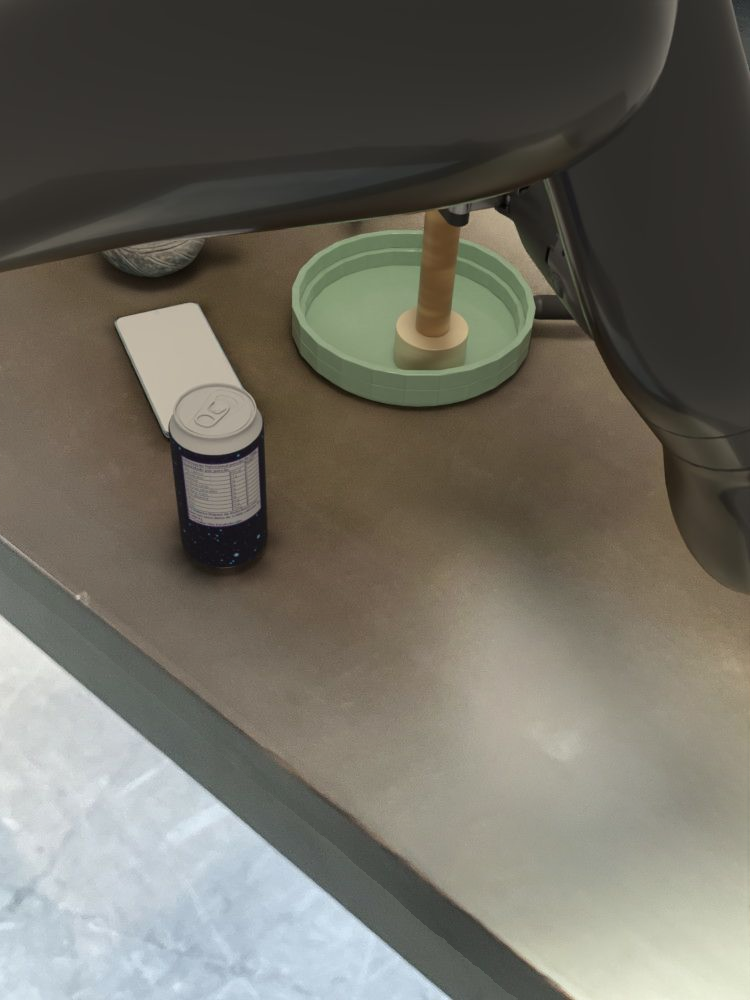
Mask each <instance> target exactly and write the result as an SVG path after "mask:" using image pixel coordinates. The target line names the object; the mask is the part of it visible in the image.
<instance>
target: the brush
mask: <svg viewBox="0 0 750 1000" xmlns="http://www.w3.org/2000/svg"><path fill="white" fill-rule="evenodd" d="M461 228H462V227H455V226H451V225H449V224H448V223H447V222H446V220H445V219H444V218H443V216H442V215H441V214H440V213H439V211H438V210H434V211H428V212H424V220H423V243H422V255H421V266H420V278H419V290H418V301H417V307H414V308H411V309H409V310H407V311H405V312H404V313H403V314H401V315H400V317H399V318H398V320H397V322H396V331H395V345H394V360H395V362H396V364H397V366H398V367H399V368H400V369H402V370H443V369H449V368H455V367H460V366H463V365H464V363H465V356H466V348H467V340H468V333H469V329H468V325H467V323H466V321H465V320H464V318H463V317H462V316H460V315H459V314H458V313H456V312H454V311H452V310H451V308H452V299H453V290H454V281H455V273H456V264H457V255H458V246H459V238H461Z"/></svg>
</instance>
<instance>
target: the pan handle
mask: <svg viewBox="0 0 750 1000" xmlns="http://www.w3.org/2000/svg"><path fill="white" fill-rule="evenodd" d="M533 298H534V302H535V306H536V310H535V316H534V320H538V321H540V320H541V321H575V320H574V319H573V317H572V316H571V315H570V313H569V312H568V310H567V309H566V307H565V306H564V305H563V303H562V302H561V300H560V299H559V297H558V296H557V295H556V294H542V293H541V294H535V295H533Z"/></svg>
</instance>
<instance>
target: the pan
mask: <svg viewBox="0 0 750 1000" xmlns="http://www.w3.org/2000/svg"><path fill="white" fill-rule="evenodd" d="M423 231H424V229H421V230H419V229H385V230H380V231H373V232H365V233H360V234H357V235H354V236H351V237H347V238H345V239H342V240H339V241H336V242H334V243H332V244H330V245H329V246H327V247H325V248H324V249H322V250H320V251H318V252H317V253H315V254H314V255H313V256H312V257H311V258H310V259H309V260H308V261H306V263H305V264H304V265H303V266H302V267H301V268H300V269H299V271H298V274H297V276H296V278H295V279H294V281H293V284H292V287H291V336H292V338H293V340H294V342H295V346H296V348H297V350H298V352H299V355H301V357H302V358H303V359H304V360H305V361H306V362H307V363H308V364H309V365H310V366H311V367H312V369H313V370H314V371H315V372H316V373H317V374H319V375H320V376H322V377H323V378H325V379H326V380H328V382H330V383H332V384H333V385H335V386H336V387H339V388H340V389H342V390H344V391H345V392H349V393H350V394H353V395H355V396H357V397H360V398H364V399H367V400H369V401H372V402H373V401H374V402H377V403H383V404H387V405H392V406H393V405H394V406H399V407H400V406H401V407H418V408H420V407H436V406H445V405H452V404H455V403H460V402H464V401H467V400H470V399H473V398H476V397H478V396H480V395H483V394H485V393H487V392H489V391H491V390H494V389H495V388H497V387H499V386H500V385H501V384H503V382H505V381H506V380H508V379H509V378H510V377H512V376H513V375H515V374H516V372H517V371H518V369H519V368H520V367H521V365H522V363H523V362H524V361H525V359H526V358H527V356H528V353H529V348H530V343H531V338H532V332H533V328H534V327H533V326H534V321H535V319H534V316H535V310H536V306H535V302H534V298H533V296H534V295H533V290H532V287H530V284H529V283H528V282H527V280H526V279H525V278H524V276H523V275H522V273H521V272H520V271H519V270H518V269H517V268H516V267H515V266H514V265H512V264H511V263H510V262H509V261H508V260H507V259H505V258H504V257H503V256H502V255H500V254H498V253H496V252H494V251H493V250H491V249H489V248H487V247H485V246H483V245H481V244H479V243H477V242H474V241H472V240H467V239H464V238H461V237H459V246H458V255H457V264H456V273H455V281H454V290H453V299H452V308H451V310H452V311H454V312H456V313H458V314H459V315H460V316H462V317H463V318H464V320H465V321H466V323H467V325H468V329H469V333H468V340H467V348H466V356H465V363H464V365H463V366H460V367H455V368H449V369H443V370H402V369H400V368H399V367H398V366H397V364H396V362H395V360H394V345H395V331H396V322H397V320H398V318H399V317H400V315H401V314H403V313H404V312H405V311H407V310H409V309H411V308H414V307H417V301H418V290H419V278H420V266H421V255H422V243H423Z"/></svg>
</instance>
